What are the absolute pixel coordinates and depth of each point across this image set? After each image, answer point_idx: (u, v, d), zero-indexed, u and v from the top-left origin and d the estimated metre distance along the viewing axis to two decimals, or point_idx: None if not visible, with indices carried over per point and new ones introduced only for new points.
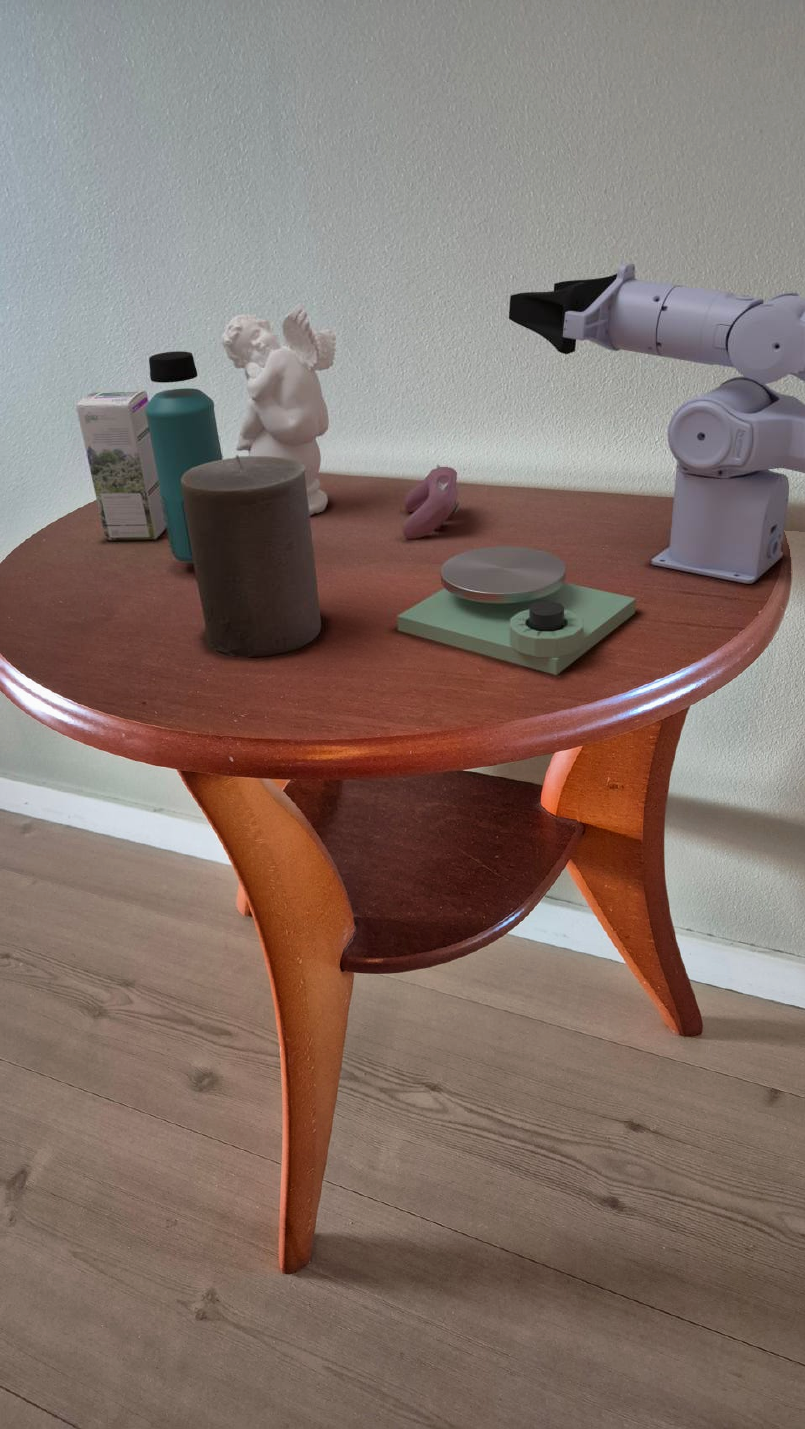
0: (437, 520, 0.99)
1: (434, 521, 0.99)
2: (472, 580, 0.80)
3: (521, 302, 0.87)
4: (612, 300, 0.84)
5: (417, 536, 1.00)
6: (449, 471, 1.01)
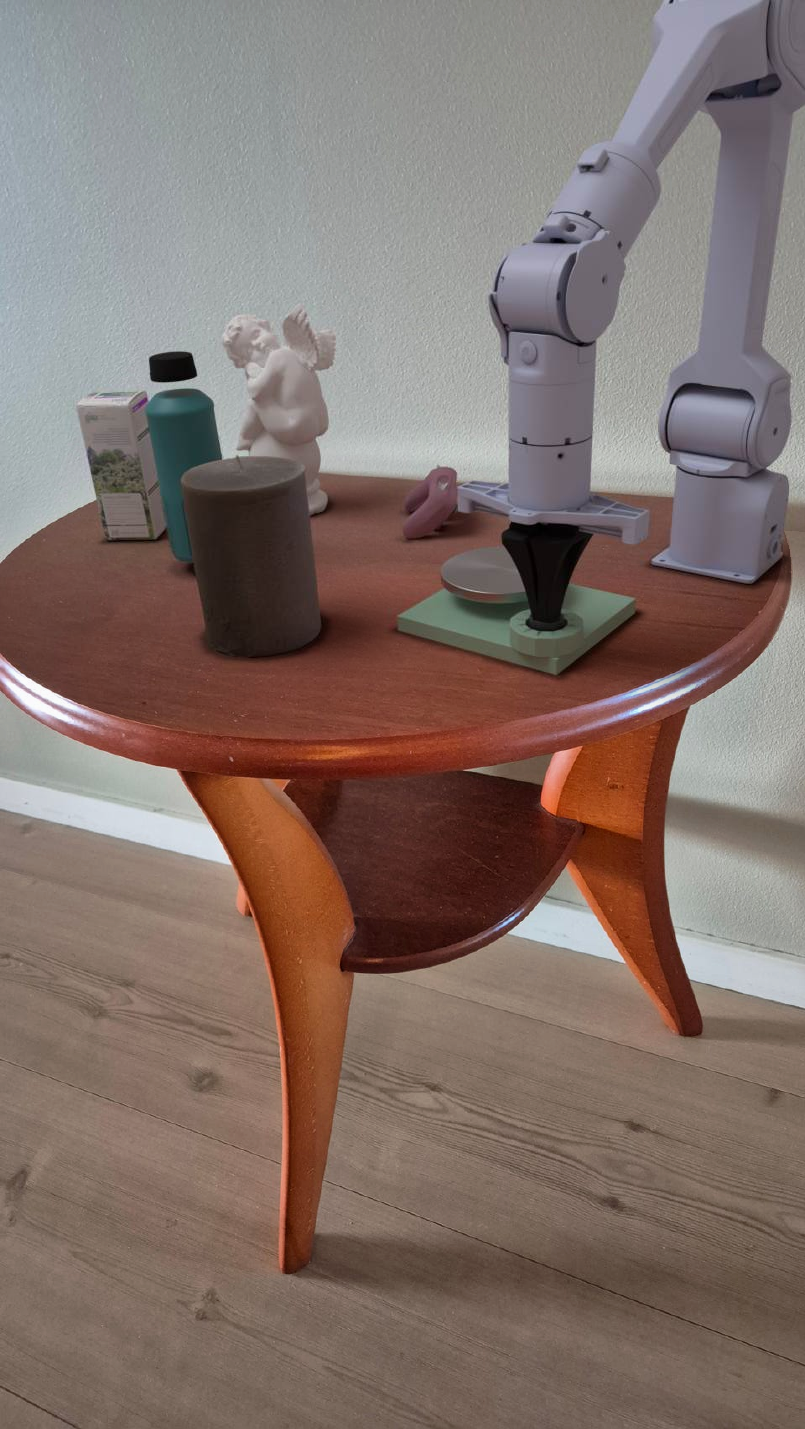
0: (437, 520, 0.99)
1: (434, 521, 0.99)
2: (472, 580, 0.80)
3: (551, 606, 0.73)
4: (570, 509, 0.68)
5: (417, 536, 1.00)
6: (449, 471, 1.01)
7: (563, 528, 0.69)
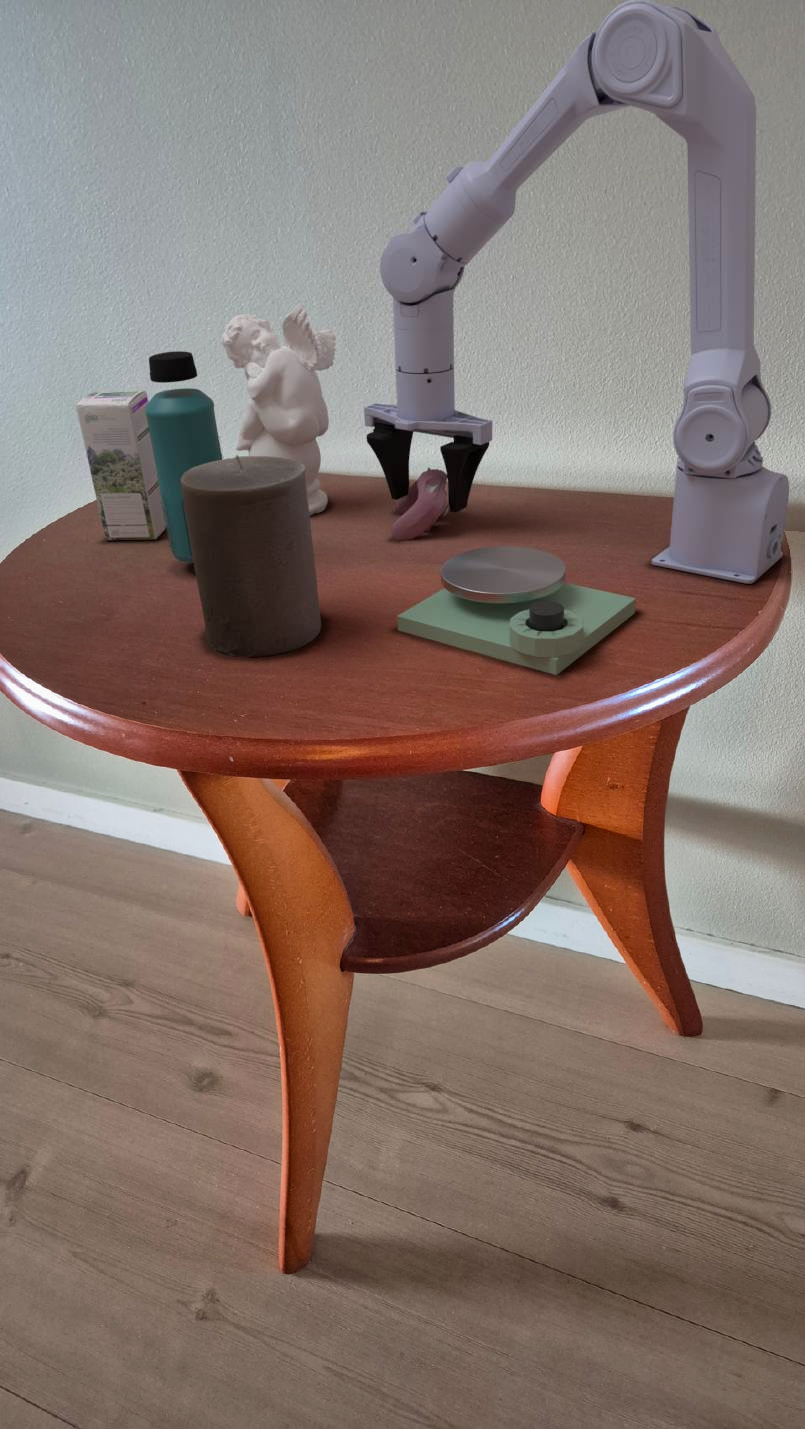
0: (426, 522, 0.99)
1: (422, 524, 0.99)
2: (472, 580, 0.80)
3: (458, 499, 1.00)
4: (438, 420, 0.96)
5: (406, 539, 1.00)
6: (439, 474, 1.01)
7: (464, 439, 0.96)
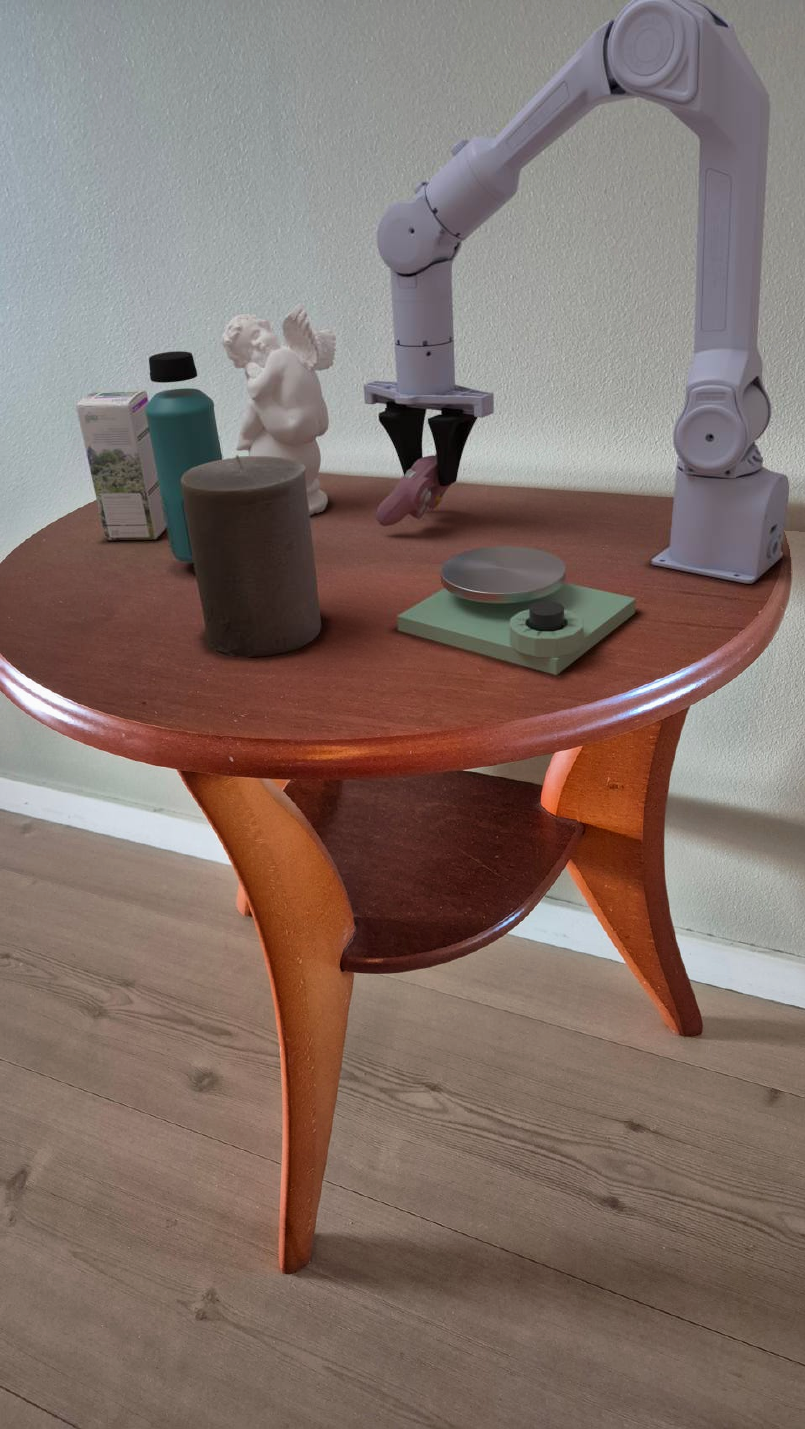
0: (403, 508, 0.98)
1: (399, 509, 0.98)
2: (472, 580, 0.80)
3: (448, 473, 0.99)
4: (438, 394, 0.95)
5: (388, 524, 1.00)
6: (431, 460, 0.99)
7: (452, 411, 0.95)
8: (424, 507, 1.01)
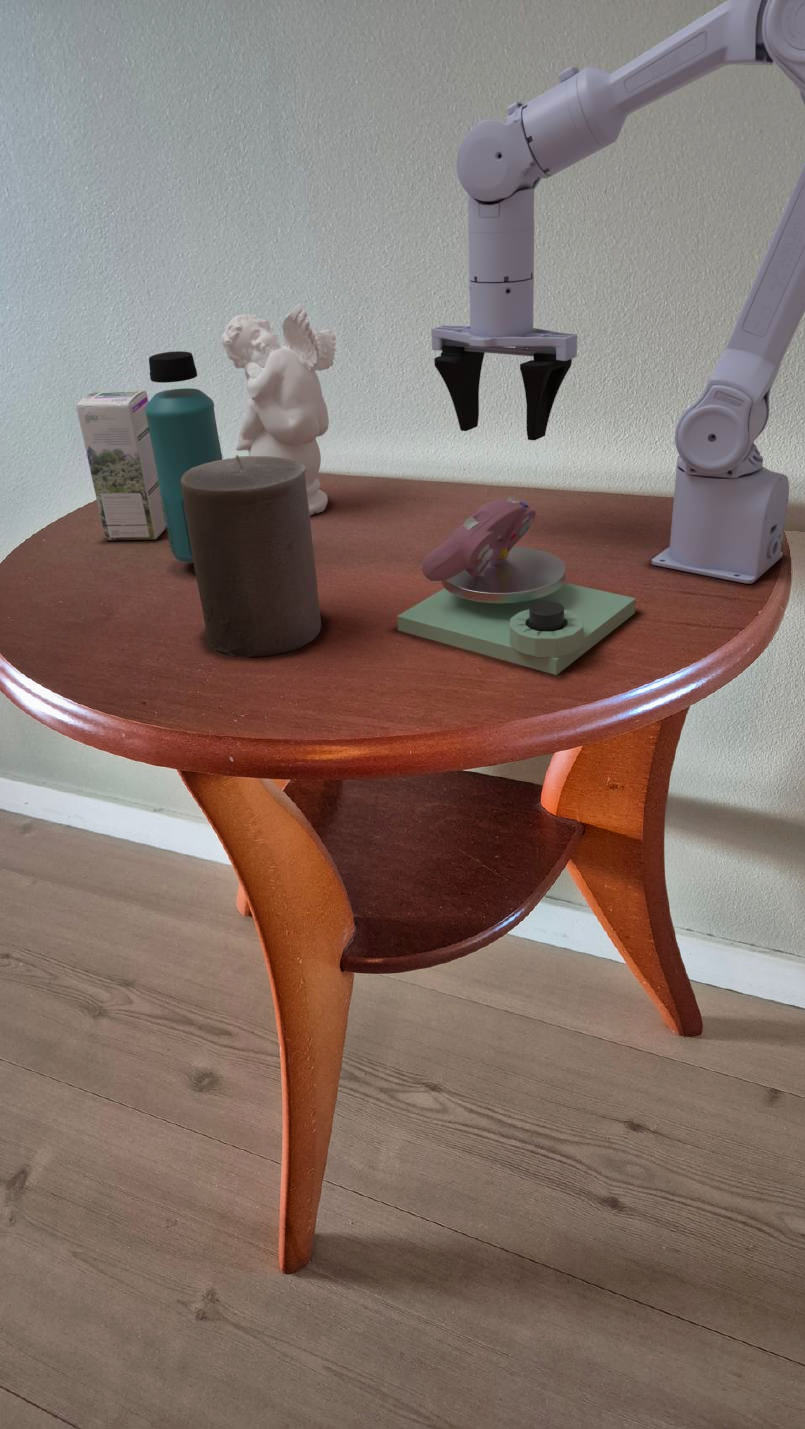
0: (455, 565, 0.78)
1: (451, 566, 0.78)
2: (472, 580, 0.80)
3: (537, 426, 0.91)
4: (516, 336, 0.87)
5: (435, 579, 0.80)
6: (500, 507, 0.78)
7: (546, 356, 0.87)
8: (484, 563, 0.81)
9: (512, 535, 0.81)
